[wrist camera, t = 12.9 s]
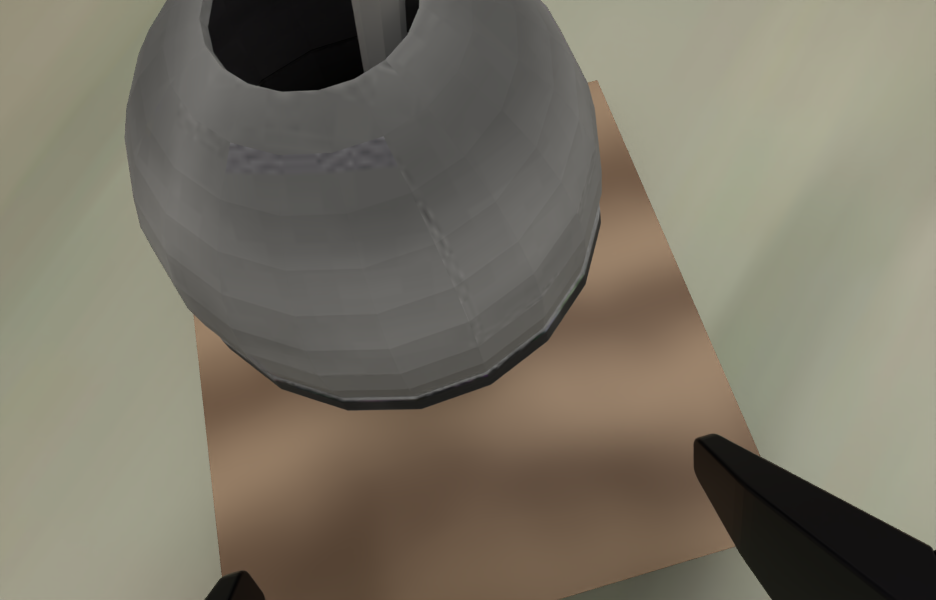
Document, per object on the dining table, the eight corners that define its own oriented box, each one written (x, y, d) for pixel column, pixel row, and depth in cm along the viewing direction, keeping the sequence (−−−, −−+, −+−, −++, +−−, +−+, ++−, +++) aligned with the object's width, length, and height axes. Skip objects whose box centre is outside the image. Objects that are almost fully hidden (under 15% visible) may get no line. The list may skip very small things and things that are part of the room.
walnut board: (772, 523, 18) (792, 529, 17) (251, 679, 17) (235, 696, 16) (592, 97, 24) (597, 80, 23) (195, 203, 23) (180, 190, 22)
